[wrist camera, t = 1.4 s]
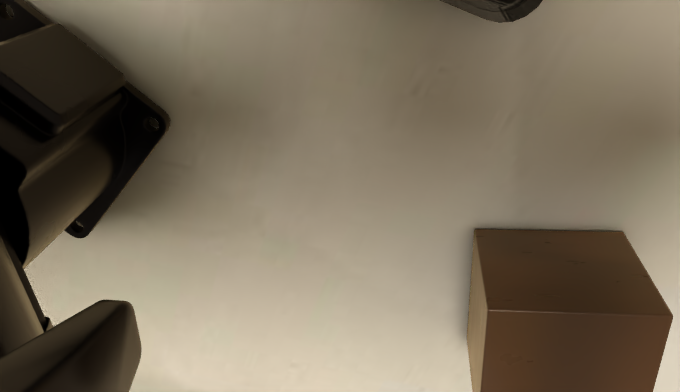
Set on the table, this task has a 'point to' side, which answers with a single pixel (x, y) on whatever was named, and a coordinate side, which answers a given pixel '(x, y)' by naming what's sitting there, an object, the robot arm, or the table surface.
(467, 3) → the phone
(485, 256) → the walnut block
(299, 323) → the table surface
